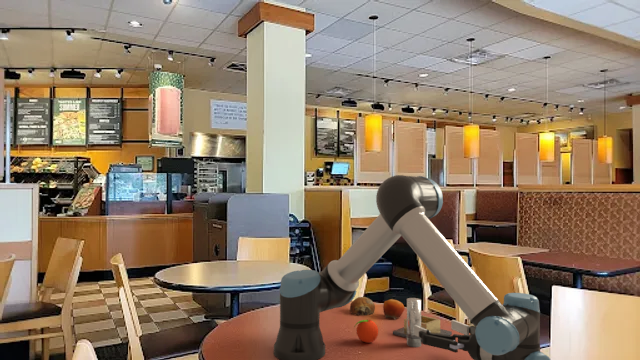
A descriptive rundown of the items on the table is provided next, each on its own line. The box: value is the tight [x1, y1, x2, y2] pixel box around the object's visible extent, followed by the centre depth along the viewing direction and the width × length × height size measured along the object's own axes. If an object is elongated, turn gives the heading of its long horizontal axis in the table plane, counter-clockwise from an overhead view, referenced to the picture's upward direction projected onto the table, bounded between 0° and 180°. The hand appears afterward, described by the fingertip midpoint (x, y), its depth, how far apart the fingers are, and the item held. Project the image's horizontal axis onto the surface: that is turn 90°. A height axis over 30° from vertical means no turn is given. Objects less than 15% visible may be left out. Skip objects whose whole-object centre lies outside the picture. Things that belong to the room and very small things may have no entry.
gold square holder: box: [392, 314, 453, 343], centre depth 149 cm, size 14×14×5 cm
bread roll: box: [349, 296, 376, 317], centre depth 177 cm, size 10×10×8 cm
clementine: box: [353, 319, 379, 344], centre depth 140 cm, size 8×7×7 cm
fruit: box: [382, 298, 405, 320], centre depth 169 cm, size 8×8×8 cm
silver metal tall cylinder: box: [406, 297, 422, 348], centre depth 138 cm, size 5×5×14 cm
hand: (434, 327), depth 130 cm, fingers open, 13 cm apart
